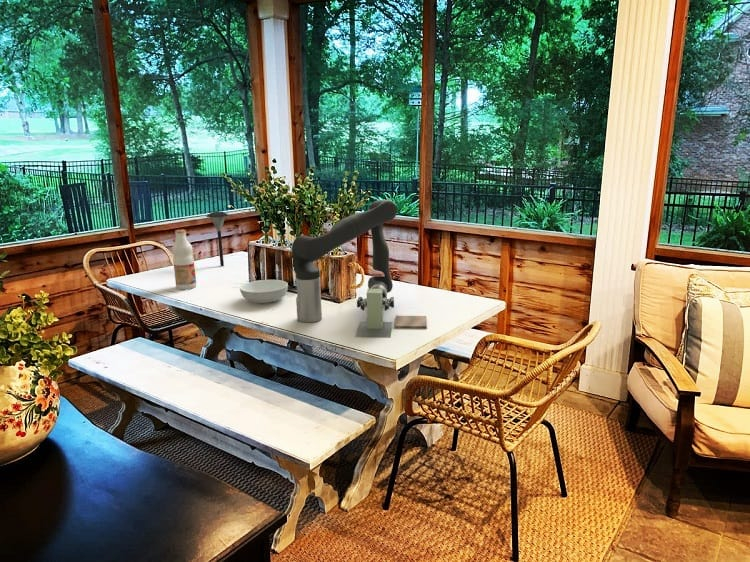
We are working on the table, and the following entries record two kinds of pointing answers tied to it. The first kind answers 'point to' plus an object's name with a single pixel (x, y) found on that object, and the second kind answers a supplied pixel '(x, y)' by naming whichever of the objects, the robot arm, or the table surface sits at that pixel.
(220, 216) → the solar garden light
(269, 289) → the serving bowl
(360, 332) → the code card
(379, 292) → the sage block
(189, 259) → the fruit juice
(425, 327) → the walnut pad
